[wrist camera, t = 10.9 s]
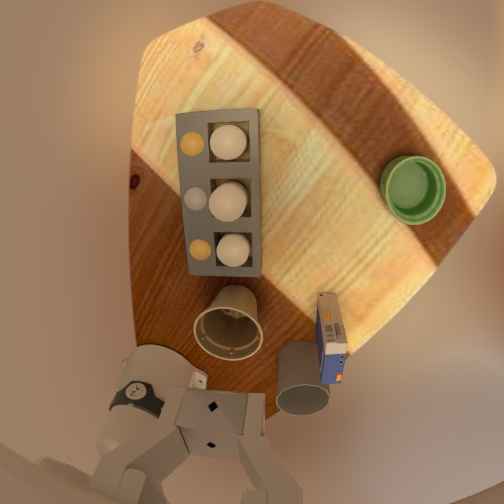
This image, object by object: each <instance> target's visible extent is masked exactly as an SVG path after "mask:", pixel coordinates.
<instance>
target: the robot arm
mask: <svg viewBox="0 0 504 504" xmlns="http://www.w3.org/2000/svg"><path fill="white" fill-rule="evenodd" d="M121 367H122V368H123V371H122V373H121V376H120V378H119V380H118V383H117V385H116V388H115V392H116V395H115V397H114V398H113V400H112V403H111V405H110V408H109V410H110V413H109V415H108V417H107V419H106V421H105V423H104V425H103V427H102V429H101V431H100V433H99V435H98V437H97V441H96V445H97V450H98V452H99V454H100V456H101V459H100V461H99V463H98V465H97V467H96V470H95V472H94V474H93V476H90V475H88V474H86V473H84V472H82V471H80V470H79V469H76V468H75V467H73V466H70V465H68V464H65V463H63V462H60V461H58V460H55V459H53V458H50V457H42V458H39V459H36V460H35V461H33V462H32V461H30V460H28V459H27V458H25V457H23V456H22V455H20V454H18V453H17V452H15V451H14V450H12V449H11V448H9V447H8V446H6V445H5V444H3V443H2V442H0V504H169V502H168V500H167V498H166V496H165V494H164V491H163V488H162V484H161V482H162V481H163V480H164V479H165V478H166V477H167V476H168V475H170V473H172V472H173V471H174V470H175V469H176V468H177V467H178V466H179V465H180V464H181V463H182V462H183V461H185V459H187V458H188V457H189V454H192V455H200V456H208V457H216V458H224V459H231V460H240V462H241V464H242V466H243V468H244V469H245V471H246V473H247V475H248V477H249V479H250V481H251V482H252V484H253V486H254V488H255V490H248V489H247V490H246V491H244V492H243V493H242V498H241V503H240V504H303V489H302V488H301V487H300V485H299V484H298V483H297V481H296V480H295V478H294V477H293V475H292V474H291V473H290V471H289V470H288V468H287V467H286V466H285V464H284V463H283V461H282V460H281V458H280V457H279V455H278V454H277V452H276V451H275V449H274V448H273V446H272V445H271V443H270V442H269V440H268V439H267V437H264V429H265V394H264V393H249V392H232V391H219V390H218V391H213V390H206V389H207V380H208V375H207V374H206V373H205V372H204V371H202V370H200V369H198V368H196V367H194V366H193V365H192V364H191V363H190V362H189V361H188V360H186V359H185V358H184V357H183V356H181V355H180V354H178V353H177V352H175V351H173V350H171V349H168V348H166V347H163V346H158V345H142V346H139V347H137V348H135V349H134V350H133V351H132V353H131V355H130V357H129V358H127V359H125V360H123V361H122V364H121ZM451 504H504V481H503V482H501V483H499V484H497V485H495V486H492V487H490V488H488V489H486V490H483V491H481V492H479V493H476V494H474V495H472V496H469V497H467V498H464V499H461V500H459V501H456V502H453V503H451Z"/></svg>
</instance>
